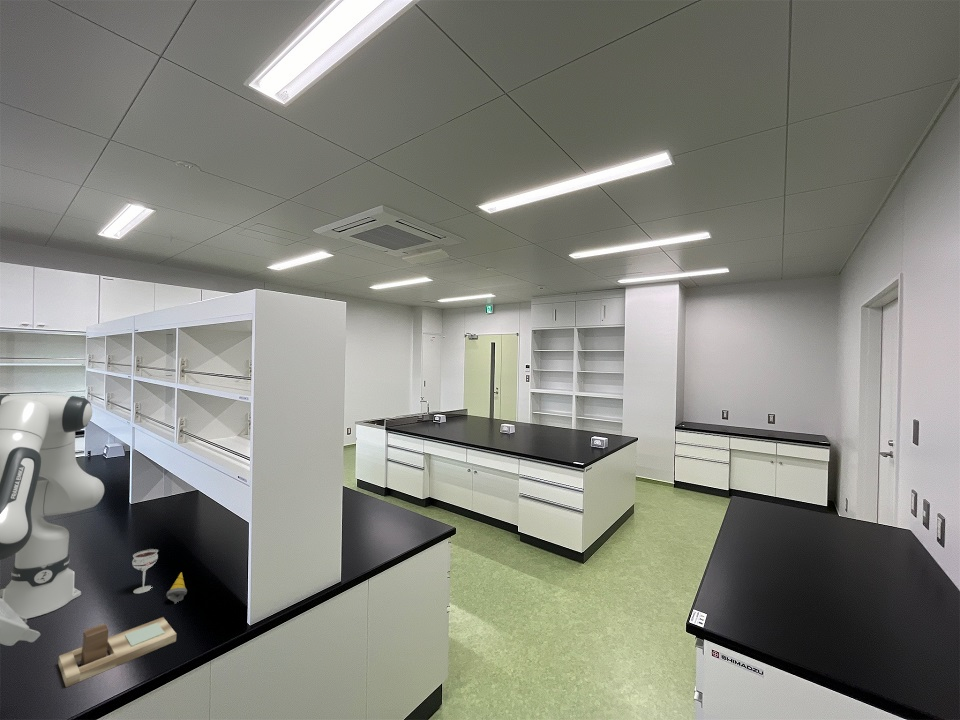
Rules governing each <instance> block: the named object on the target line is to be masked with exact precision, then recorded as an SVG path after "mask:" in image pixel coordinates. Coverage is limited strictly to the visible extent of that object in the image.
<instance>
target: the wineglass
mask: <svg viewBox="0 0 960 720" xmlns="http://www.w3.org/2000/svg"><path fill="white" fill-rule="evenodd" d="M158 552H159V549H156V548H155V549H154V548H149V549H145V550H140V551H138V552H136V553H134V554H132V557H133V559H132V561H131V563H132V564H131V565H132V567H133V568H134V569H136V570H138V571H141V572H142V586H140V587H138V588H135V589H134V590H133V593H134V594H143V593H145V592H146V593H147V592H148V591H151V590H152V589H153V586H152V585H145V581H146V574H147V573H146V572H147V570H148V569H149V568H151V567H153V566H154V564H156V562H157V561H158V559H159V554H158ZM151 586H152V587H151ZM151 588H152V589H151ZM150 589H151V590H150Z"/></svg>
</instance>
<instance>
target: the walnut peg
mask: <svg viewBox="0 0 960 720" xmlns="http://www.w3.org/2000/svg"><path fill="white" fill-rule="evenodd" d="M82 631H83V633H82V634H83V635H82V646H81V647H82V656H81V661H80V665H81V666H84V665H86V664H89V663H91V662H94V661H96V660H99V659H101V658H104V657H106V656H108V650H107V642H108V637H109V628H108V626H107V624H106V623H101V624H99V625H96V626H93V627H91V628H88V629H85V630H82Z"/></svg>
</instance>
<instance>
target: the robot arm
mask: <svg viewBox="0 0 960 720" xmlns="http://www.w3.org/2000/svg"><path fill="white" fill-rule="evenodd" d="M92 416H93V408H92V404H91V402H90V401H89V400H88V399H87V398H85V397H81V396H76V395H71V396H67V395H60V394H59V395H58V394H47V393H46V394H45V393H41V394H15V395H14V394H11V395H10V394H0V560H4V559H7V558H9V557H12V556H14V555H15V560H14V564H13V566H12V570H11V572H10V573H11V574H10V575H11V577H10V579H11V580H10V581H9V583H8V584H7V585H6V586H5V588H1V589H0V644H1V645H4V646H8V647H9V646H14V645H15V644H17V642H19V641H26V642H29V643H34V642H35V641H37V640H38V638H40V636H41V633H40V631H38V630H36V629H33V628H30V626H29V625H28V624H27V623H28V619H32V618H36V617H39V616H42V615H45V614H49V613H51V612H53V611H56V610H58V609H60V608H62V607H64V606H66V605H67V604H68V603H70V602H71V601H72V600H74V599H76V598H78V597H80V596H81V595H82V591H81V590H78V589H77V588H76V587H75V571H73V569H71V568H69V566H70V559H71V558H70V554H68V553H69V545H70V544H69V540H70V532H69V530H68V529H67V528H66V527H64V526H61V525H58V524H53V523H50V522H47V521H46V520H45V519H44V517H46V516H54V515H55V516H56V515H63V514H68V513H76V512H79V511H83V510H86V509H90V508H91V509H92V508H93V507H94V508H95V506H97V505H98V504H99V503H100V502H101V500H102V499H103V496H104V494H105V485H104V483H103V482H102V480H101V479H99V478H98V477H95V476H93V475H91V474H89V473H87V472H86V471H84V470H83V469H82V468H81V466H80V465H79V464H78V461H77V457H76V432H78V431H81V430H83V429H84V428H86V427H87V426H88V424H89V422H90V421H91V420H92ZM39 477H41V478H44V480H43V479H42V480H39Z"/></svg>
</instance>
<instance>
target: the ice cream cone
mask: <svg viewBox="0 0 960 720" xmlns="http://www.w3.org/2000/svg"><path fill="white" fill-rule="evenodd" d="M187 594H188V589H187V588H186V585H185V581H184V577H183V571H182V572H180V573H179V574H178V576H177V578H176V580H175V581H174V583H173V584H172V586H171V587H170V589H169V590H168V591H167V592H166V596H165V598H166V599H168V600H170V601H172V602H173V603H174V605H175V604H177V602H178V603H179V601H180V602H182V601H183V600H184V597H185V596H186V595H187Z"/></svg>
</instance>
